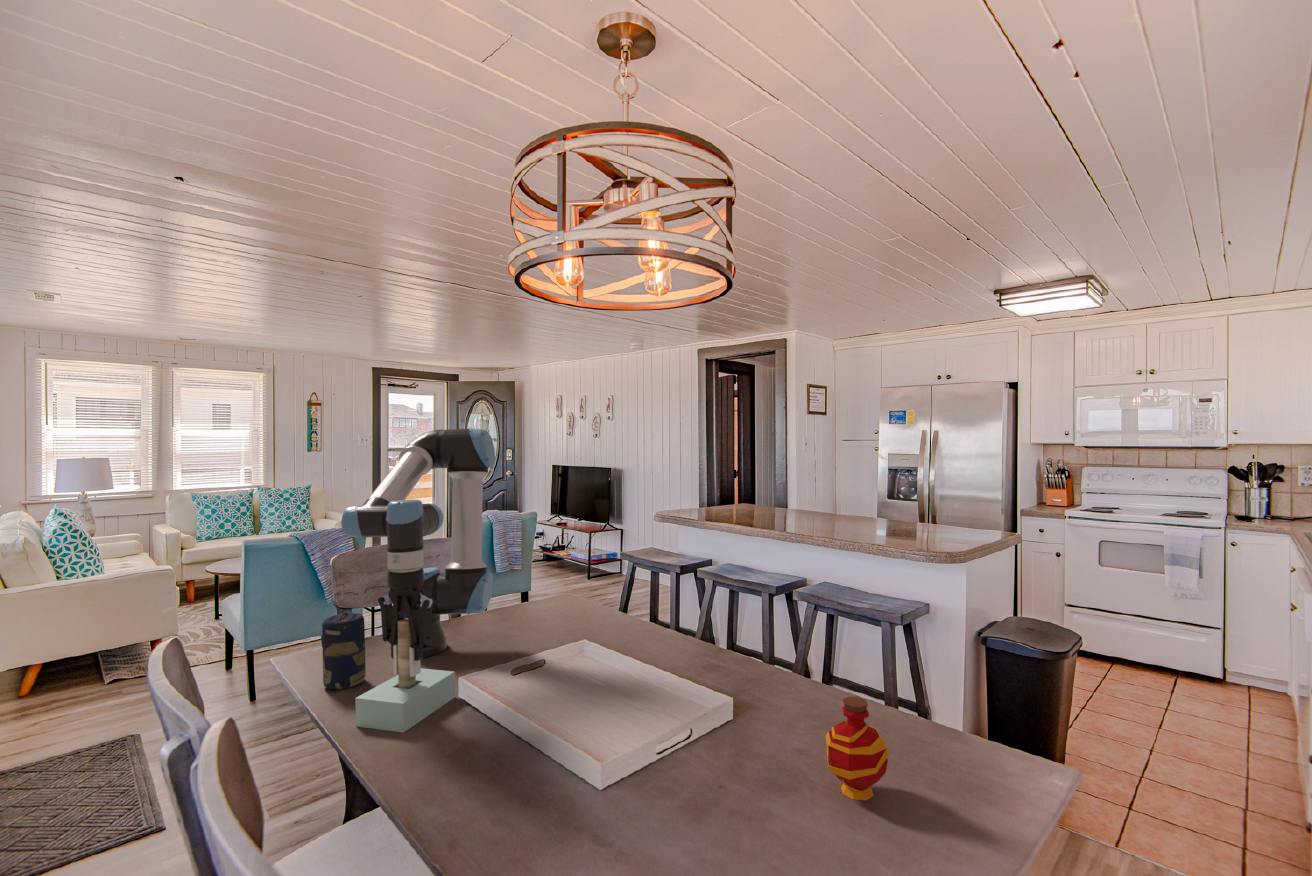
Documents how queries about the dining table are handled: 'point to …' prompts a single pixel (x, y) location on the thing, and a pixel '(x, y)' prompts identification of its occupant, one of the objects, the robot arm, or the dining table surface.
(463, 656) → the dining table surface
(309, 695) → the dining table surface
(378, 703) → the socket block
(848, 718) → the potion bottle
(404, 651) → the peg
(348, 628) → the canister
